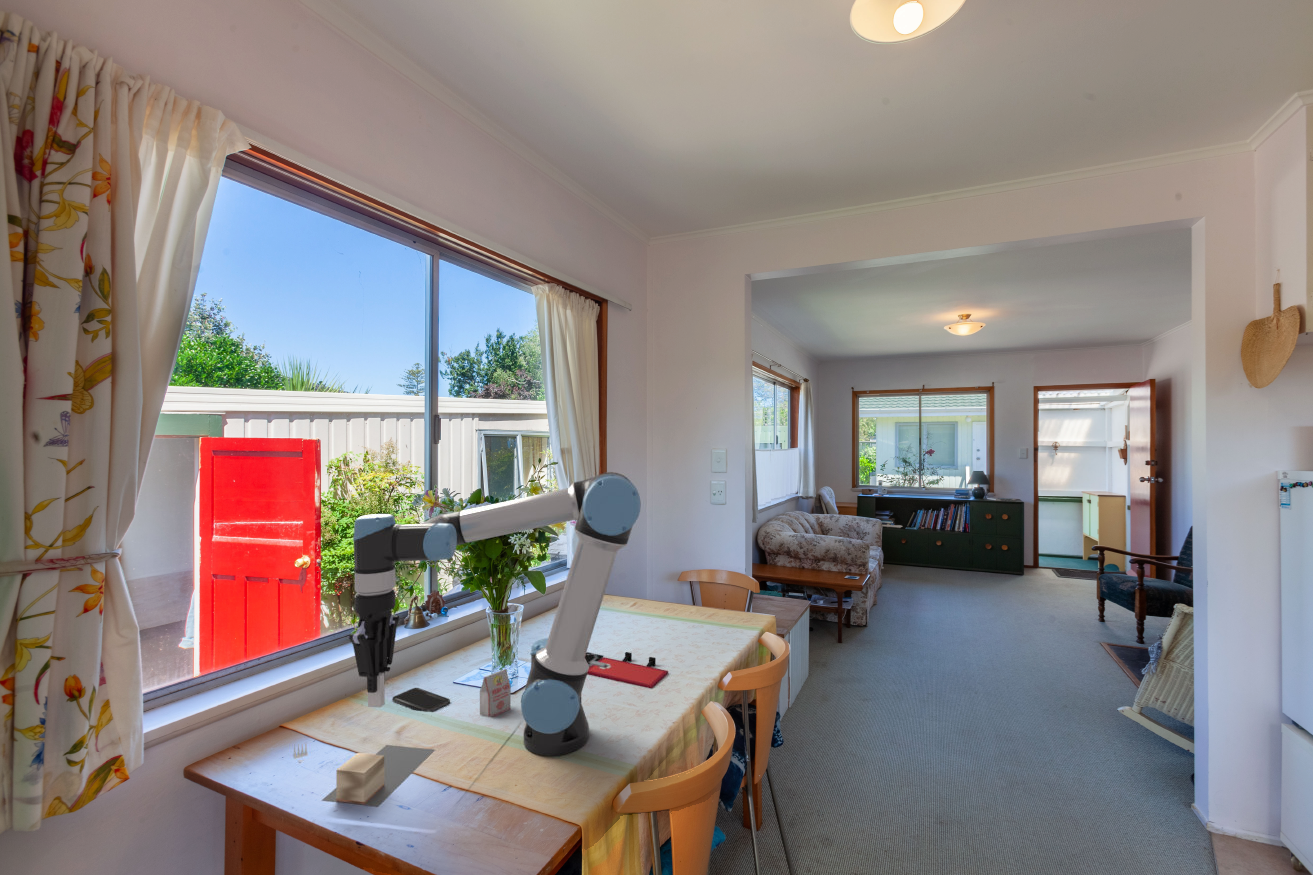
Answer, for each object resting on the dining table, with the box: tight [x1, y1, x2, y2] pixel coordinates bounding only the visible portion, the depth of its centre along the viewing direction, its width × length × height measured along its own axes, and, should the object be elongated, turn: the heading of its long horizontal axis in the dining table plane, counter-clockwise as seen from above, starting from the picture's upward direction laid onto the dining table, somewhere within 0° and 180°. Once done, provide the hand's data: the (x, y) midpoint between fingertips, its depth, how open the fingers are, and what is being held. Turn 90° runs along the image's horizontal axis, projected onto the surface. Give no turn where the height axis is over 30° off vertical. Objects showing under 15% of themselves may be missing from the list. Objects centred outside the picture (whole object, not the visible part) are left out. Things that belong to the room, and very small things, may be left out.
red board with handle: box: [585, 651, 669, 690], centre depth 174 cm, size 30×3×15 cm
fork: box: [293, 742, 308, 764], centre depth 122 cm, size 3×16×2 cm, turn 34°
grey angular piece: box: [479, 668, 512, 718], centre depth 147 cm, size 4×7×10 cm, turn 141°
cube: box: [335, 752, 384, 804], centre depth 113 cm, size 6×6×6 cm
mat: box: [321, 744, 435, 808], centre depth 119 cm, size 12×20×1 cm, turn 171°
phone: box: [392, 687, 451, 713], centre depth 153 cm, size 8×1×15 cm
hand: (376, 705), depth 117 cm, fingers closed
